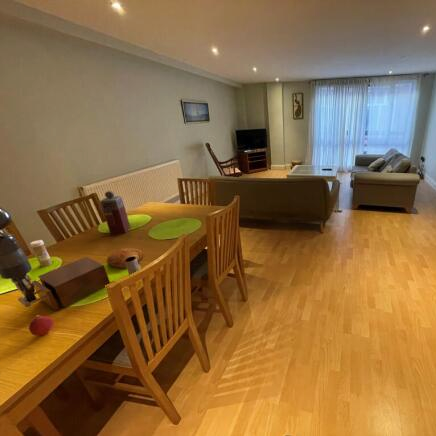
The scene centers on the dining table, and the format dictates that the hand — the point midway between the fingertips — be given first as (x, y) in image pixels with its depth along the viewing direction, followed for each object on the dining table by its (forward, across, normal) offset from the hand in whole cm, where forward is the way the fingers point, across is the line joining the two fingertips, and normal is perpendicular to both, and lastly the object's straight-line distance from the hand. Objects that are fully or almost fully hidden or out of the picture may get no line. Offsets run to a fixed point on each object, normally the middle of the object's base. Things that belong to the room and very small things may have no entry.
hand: (32, 300), depth 91 cm
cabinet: (+6, 0, +14) cm, 15 cm away
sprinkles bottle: (+6, -40, +16) cm, 43 cm away
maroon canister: (+6, -47, +56) cm, 73 cm away
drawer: (+5, 0, +8) cm, 9 cm away
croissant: (+6, -6, +37) cm, 38 cm away
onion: (+6, +16, -3) cm, 17 cm away
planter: (+6, +12, +31) cm, 34 cm away
